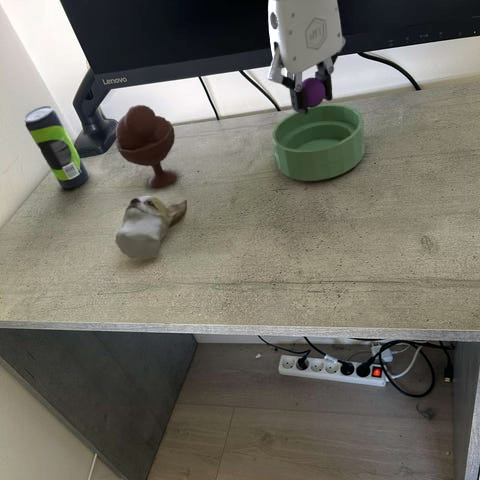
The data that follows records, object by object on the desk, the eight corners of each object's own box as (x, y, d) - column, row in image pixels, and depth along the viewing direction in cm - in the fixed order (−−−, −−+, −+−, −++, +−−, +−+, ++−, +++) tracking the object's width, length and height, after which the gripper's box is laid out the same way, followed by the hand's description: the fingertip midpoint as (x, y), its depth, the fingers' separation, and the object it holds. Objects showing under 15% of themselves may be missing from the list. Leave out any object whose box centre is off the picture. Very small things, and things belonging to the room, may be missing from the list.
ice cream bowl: (196, 162, 96) (170, 86, 85) (176, 197, 89) (146, 119, 79) (149, 165, 100) (119, 92, 89) (127, 198, 93) (91, 124, 82)
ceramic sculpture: (86, 227, 73) (122, 175, 83) (109, 271, 79) (140, 217, 89) (150, 223, 70) (180, 169, 80) (169, 269, 76) (195, 214, 86)
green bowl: (326, 127, 93) (322, 96, 89) (383, 152, 83) (383, 118, 79) (262, 164, 90) (255, 134, 86) (314, 194, 80) (309, 162, 76)
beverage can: (93, 170, 104) (57, 102, 93) (83, 187, 100) (45, 118, 89) (67, 175, 106) (29, 108, 95) (57, 191, 102) (16, 124, 91)
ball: (315, 96, 82) (311, 70, 78) (332, 103, 79) (329, 76, 76) (294, 108, 81) (290, 81, 77) (310, 115, 78) (307, 88, 75)
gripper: (262, 3, 62) (285, 135, 75) (363, -47, 66) (368, 88, 79) (231, -4, 67) (258, 122, 80) (327, -50, 71) (337, 78, 84)
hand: (312, 104), depth 79 cm, fingers closed on ball, 4 cm apart
